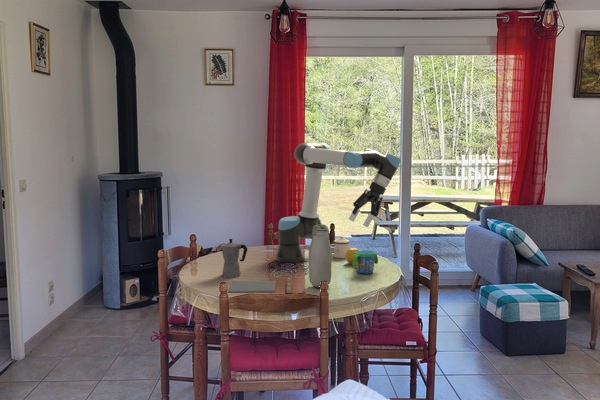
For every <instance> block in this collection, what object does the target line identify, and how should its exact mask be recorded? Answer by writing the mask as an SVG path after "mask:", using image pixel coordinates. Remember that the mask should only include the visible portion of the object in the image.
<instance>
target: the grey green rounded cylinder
mask: <svg viewBox="0 0 600 400" xmlns="http://www.w3.org/2000/svg"><path fill="white" fill-rule="evenodd" d="M312 234H313V236H312V237H311V242H310V245H309V247H308V249H309V250H308V279H309V282H310V284H311V285H312V287H315V288H317V289H318V288H319V286H320V282H321V281H322V280H326V281H327V282H328V284H329V285H330V284H331V280H332V264H333V263H332V261H333V253H332V252H333V251H332V246H330V245H331V242H330V229H329V227H328V226H327V225H326V224H319V225H315V226H314V227H313V230H312Z"/></svg>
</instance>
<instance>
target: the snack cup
mask: <svg viewBox="0 0 600 400" xmlns="http://www.w3.org/2000/svg"><path fill="white" fill-rule="evenodd" d="M356 263H357V265H356ZM378 263H379V258H378V254H377V251H375V250H374V251H373V250H364V249H363V250H359V251H356V252H355V256H354V258H353V264H351V265H352V268H354V269H357V272H358V273H359V274H365V275H369V274H372V273H373V272H374V269H375V265H377V264H378Z"/></svg>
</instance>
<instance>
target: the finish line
mask: <svg viewBox="0 0 600 400" xmlns="http://www.w3.org/2000/svg"><path fill="white" fill-rule="evenodd" d="M285 288H286V291H285V293H291V294H292V279H291V278H290V279H286V287H285Z"/></svg>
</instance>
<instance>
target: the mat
mask: <svg viewBox="0 0 600 400" xmlns="http://www.w3.org/2000/svg"><path fill="white" fill-rule="evenodd" d="M276 284H277V281H276V280H233V281H231V284H230V286H229V288H228V290H227V293H275V291H276Z"/></svg>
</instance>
